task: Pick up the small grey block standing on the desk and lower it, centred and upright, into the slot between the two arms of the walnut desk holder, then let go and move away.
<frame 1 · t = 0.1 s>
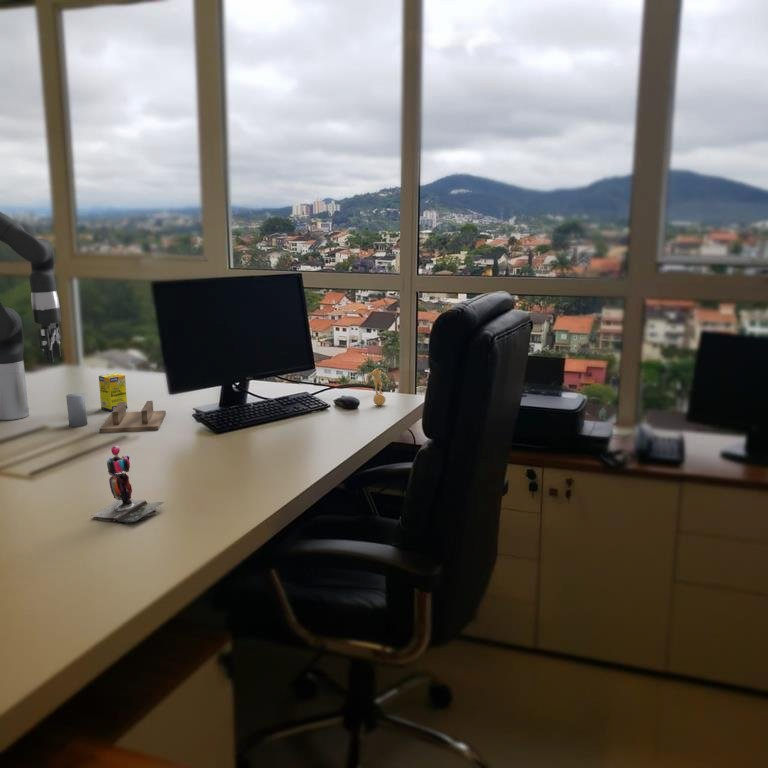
hand: (53, 359, 224), 17 cm above the table, fingers open, 8 cm apart
holder: (134, 423, 218), on the table
figurine: (378, 405, 240), on the table
grey block: (78, 424, 217), on the table
statue: (129, 515, 151), on the table
supplement box: (114, 409, 235), on the table
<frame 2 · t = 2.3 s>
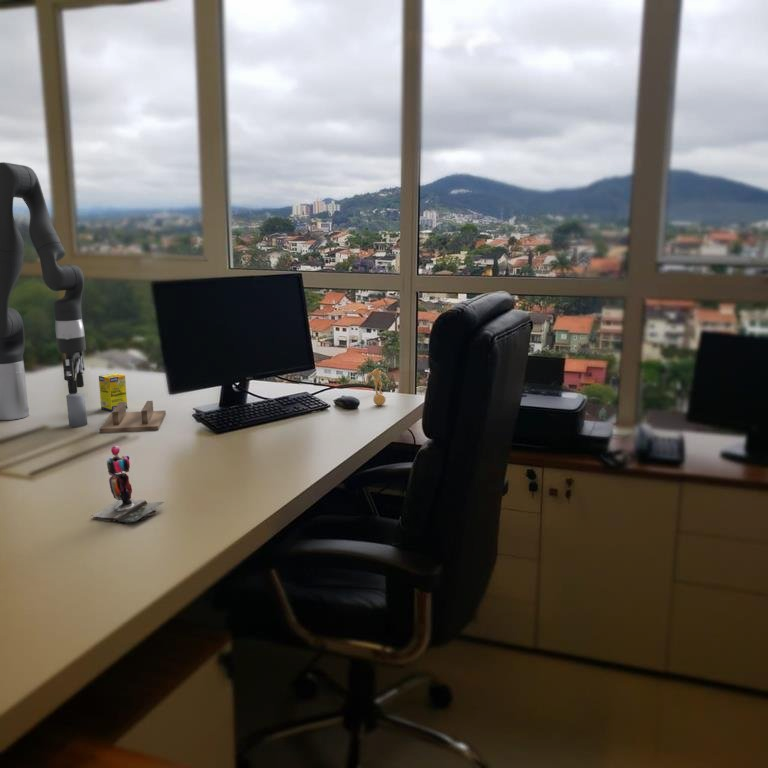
hand: (76, 390, 215), 10 cm above the table, fingers open, 8 cm apart
nothing on the table moved.
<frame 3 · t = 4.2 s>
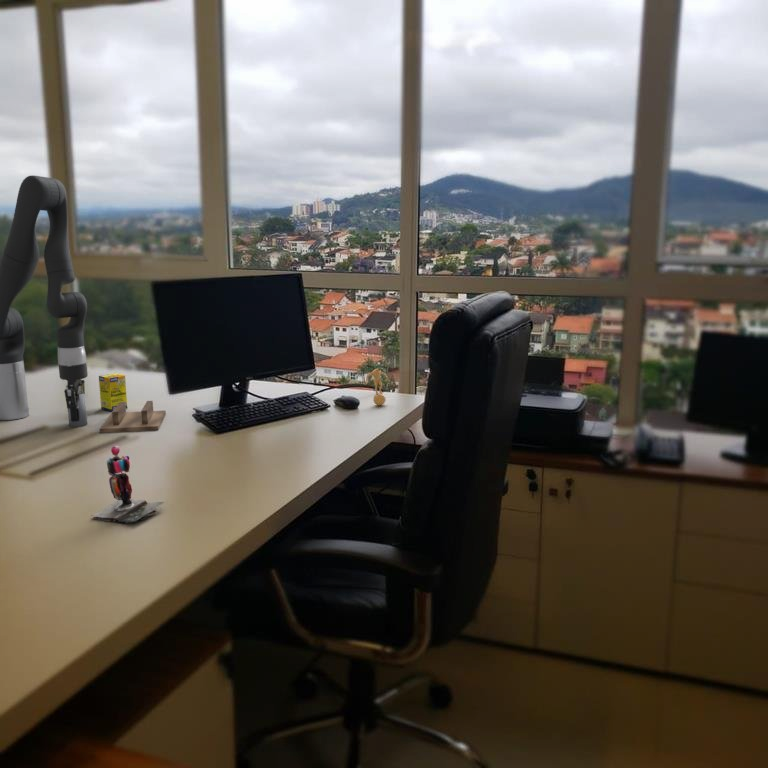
hand: (77, 418, 216), 2 cm above the table, fingers closed on grey block, 5 cm apart
grey block: (78, 424, 217), on the table, touching gripper
everything else where it was.
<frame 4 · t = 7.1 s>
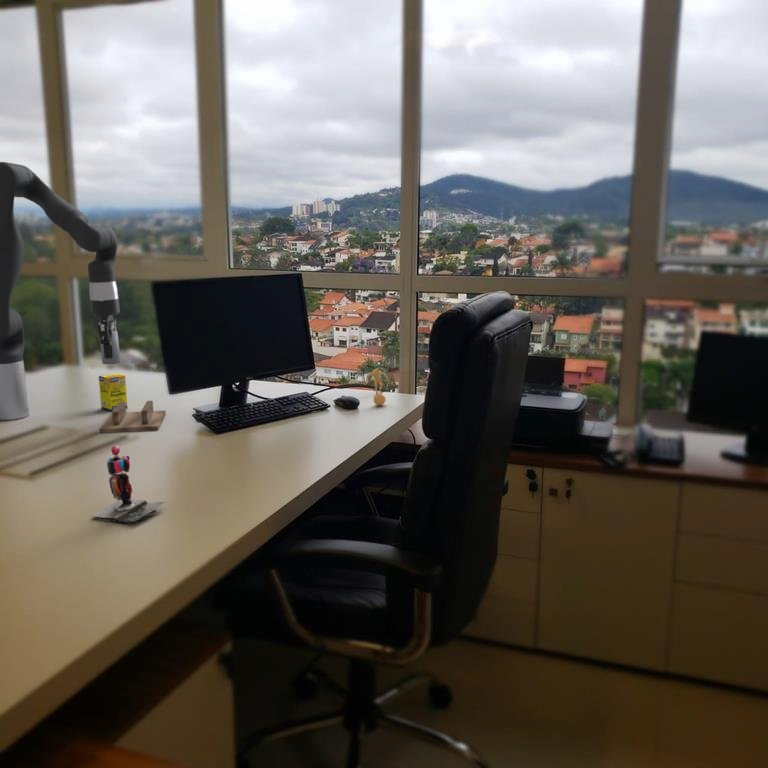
hand: (110, 356, 213), 20 cm above the table, fingers closed on grey block, 5 cm apart
grey block: (111, 362, 214), point 18 cm above the table, touching gripper
everything else where it was.
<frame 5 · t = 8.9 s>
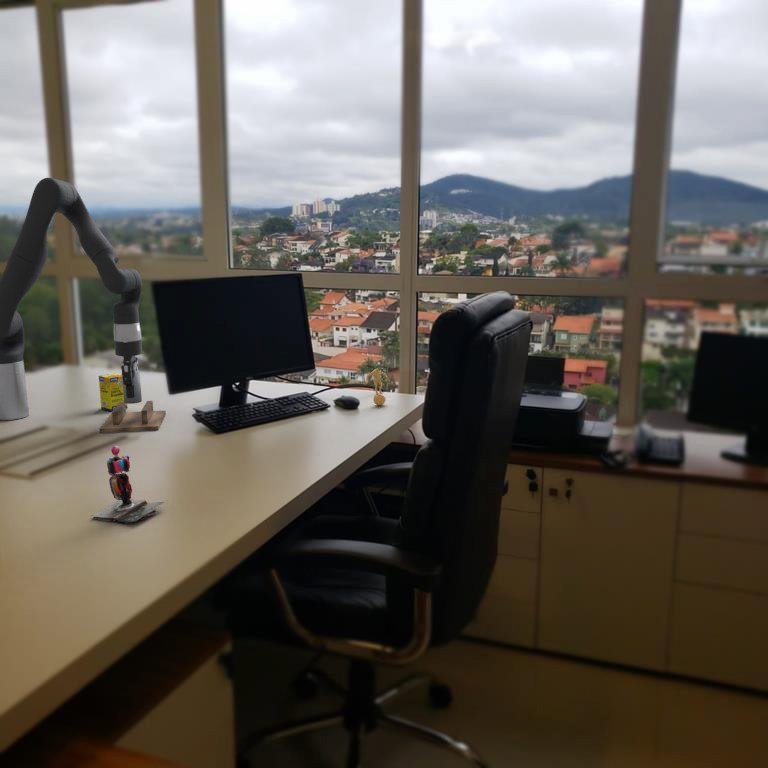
hand: (132, 395, 216), 8 cm above the table, fingers closed on grey block, 5 cm apart
grey block: (133, 401, 217), point 7 cm above the table, touching gripper
everything else where it was.
when the fingers open (4 cm above the table, at t = 10.2 s): grey block drops 1 cm, resting on holder.
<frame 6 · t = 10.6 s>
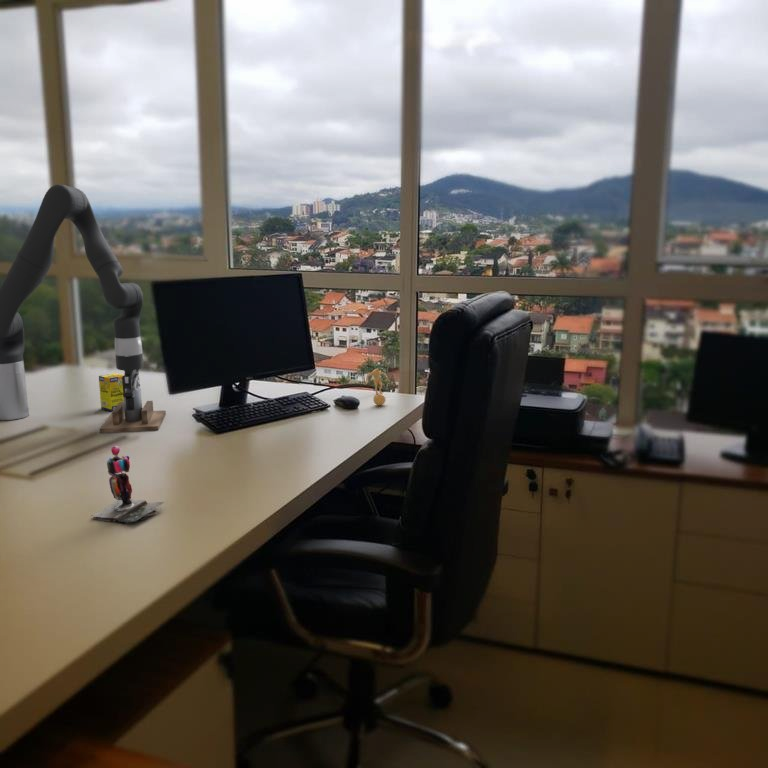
hand: (133, 406, 217), 5 cm above the table, fingers open, 8 cm apart
grey block: (134, 419, 218), point 1 cm above the table, touching holder
everything else where it was.
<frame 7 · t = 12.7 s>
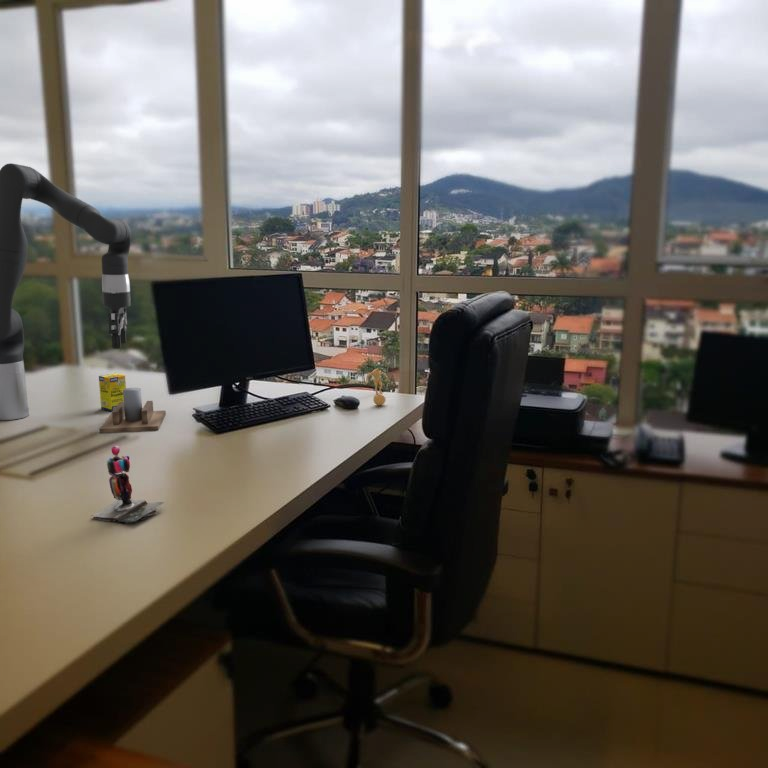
hand: (119, 345, 215), 23 cm above the table, fingers open, 8 cm apart
nothing on the table moved.
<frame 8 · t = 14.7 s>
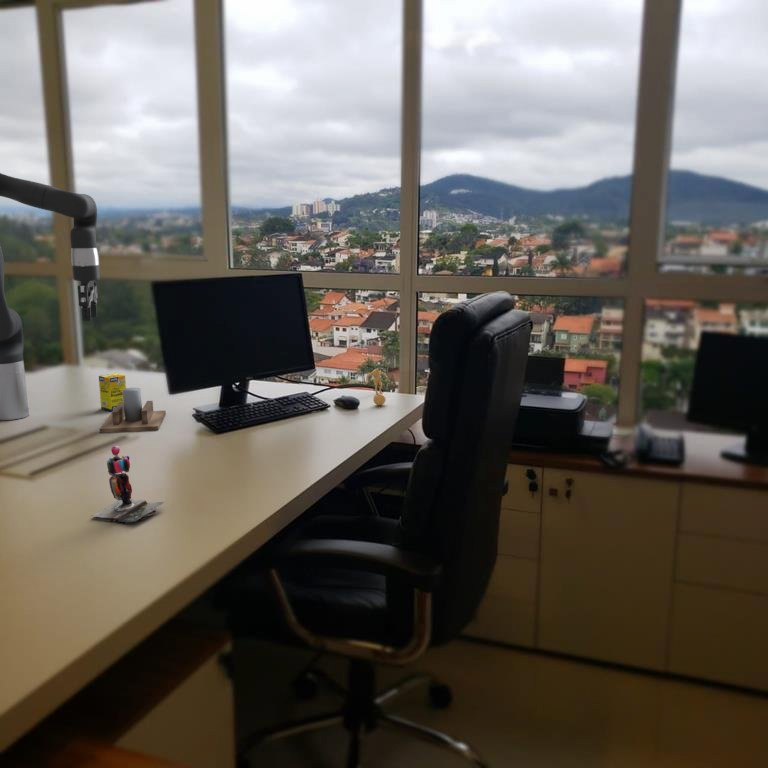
hand: (90, 318, 219), 30 cm above the table, fingers open, 8 cm apart
nothing on the table moved.
at the end: grey block 0.1 cm off-centre on the holder, point 1.2 cm above the holder's base; grey block tilted 1°; the gripper is holding nothing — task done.
